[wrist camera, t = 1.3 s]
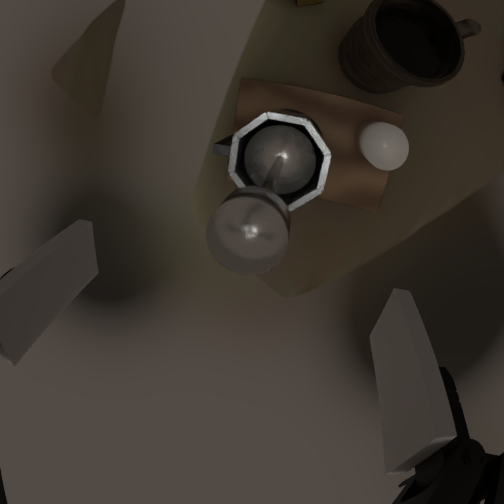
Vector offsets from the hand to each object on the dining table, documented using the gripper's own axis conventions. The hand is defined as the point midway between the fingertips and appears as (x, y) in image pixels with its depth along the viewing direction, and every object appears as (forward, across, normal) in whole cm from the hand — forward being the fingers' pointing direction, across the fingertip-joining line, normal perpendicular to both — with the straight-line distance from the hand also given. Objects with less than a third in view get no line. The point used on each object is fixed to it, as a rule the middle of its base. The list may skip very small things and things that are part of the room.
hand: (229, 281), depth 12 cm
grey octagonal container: (+34, 0, 0) cm, 34 cm away
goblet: (+23, 0, 0) cm, 23 cm away
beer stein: (+36, +12, +19) cm, 42 cm away
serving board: (+35, +4, +2) cm, 36 cm away
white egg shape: (+34, +13, +4) cm, 36 cm away
